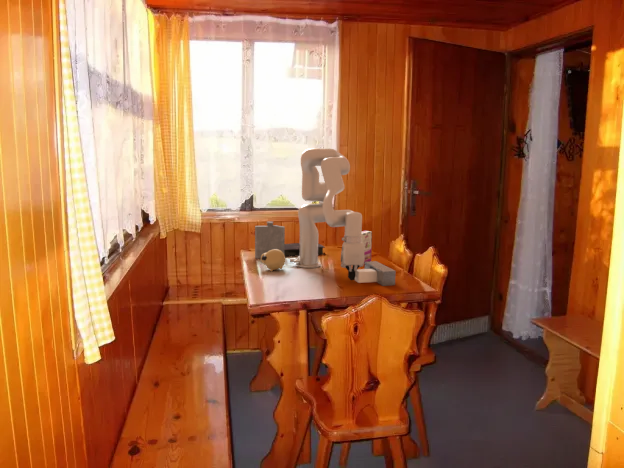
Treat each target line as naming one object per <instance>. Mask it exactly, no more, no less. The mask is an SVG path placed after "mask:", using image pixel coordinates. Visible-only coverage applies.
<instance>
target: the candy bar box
mask: <svg viewBox="0 0 624 468" xmlns="http://www.w3.org/2000/svg"><path fill="white" fill-rule="evenodd" d="M372 237H373V232H372V231H369V230H363V231H362V235H361V242H362V243H363V246H364V258H365V260H364V264H365V262H370V261H372V247H373V246H372V244H373V243H372V242H373V240H372V239H373V238H372Z"/></svg>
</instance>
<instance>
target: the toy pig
mask: <svg viewBox="0 0 624 468" xmlns="http://www.w3.org/2000/svg"><path fill="white" fill-rule="evenodd" d="M260 261H261V263H262V264H263V265H264V266H266V268H268V269H269V270H270V272H273V271H275V270H282V269H283V268H284V266H285V263H286V257H285V255H284V253H283V252H282V251H281V250H279V249H272V250H270V251H268V252H267V253H263V254H262V255H261V259H260Z"/></svg>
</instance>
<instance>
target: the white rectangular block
mask: <svg viewBox="0 0 624 468" xmlns="http://www.w3.org/2000/svg"><path fill="white" fill-rule="evenodd" d="M377 271H378V270H376V269H375V268H374V269H365V268H362V269H361V268H358V269H357V271H356V275H355V280H354V281H355V282H357V283H358V284H361V283H363V284H364V283H377Z"/></svg>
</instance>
